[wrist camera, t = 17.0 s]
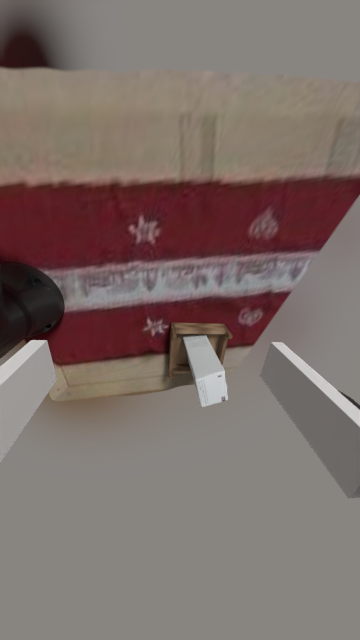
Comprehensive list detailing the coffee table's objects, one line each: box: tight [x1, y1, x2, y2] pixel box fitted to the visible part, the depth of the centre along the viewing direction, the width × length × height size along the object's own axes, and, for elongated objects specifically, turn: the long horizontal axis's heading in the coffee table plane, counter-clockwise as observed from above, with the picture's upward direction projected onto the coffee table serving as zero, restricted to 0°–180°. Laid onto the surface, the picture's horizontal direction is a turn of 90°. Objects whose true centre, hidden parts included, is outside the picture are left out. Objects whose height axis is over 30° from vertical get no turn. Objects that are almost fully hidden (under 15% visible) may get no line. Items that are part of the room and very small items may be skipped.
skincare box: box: [183, 334, 228, 407], centre depth 42 cm, size 8×6×15 cm
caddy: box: [168, 323, 232, 380], centre depth 46 cm, size 14×13×6 cm
